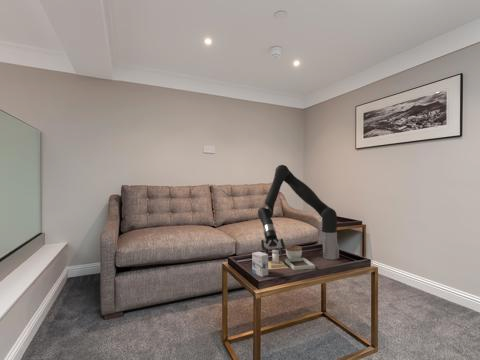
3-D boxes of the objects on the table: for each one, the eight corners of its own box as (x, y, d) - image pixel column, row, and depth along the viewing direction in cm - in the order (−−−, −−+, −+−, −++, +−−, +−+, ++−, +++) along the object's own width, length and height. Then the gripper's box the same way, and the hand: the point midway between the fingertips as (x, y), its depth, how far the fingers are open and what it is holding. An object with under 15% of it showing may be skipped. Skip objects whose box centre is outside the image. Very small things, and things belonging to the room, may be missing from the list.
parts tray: (304, 261, 159) (304, 257, 159) (315, 269, 142) (315, 265, 142) (285, 262, 157) (284, 258, 157) (294, 271, 141) (293, 266, 141)
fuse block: (282, 263, 157) (282, 259, 157) (288, 269, 145) (288, 265, 145) (264, 264, 155) (263, 260, 155) (268, 270, 143) (268, 266, 143)
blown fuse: (278, 264, 152) (277, 249, 152) (280, 266, 148) (279, 251, 148) (271, 264, 152) (271, 249, 152) (273, 266, 148) (273, 251, 148)
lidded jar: (283, 257, 169) (282, 244, 169) (297, 256, 171) (297, 242, 172) (290, 262, 158) (289, 247, 159) (305, 260, 161) (304, 245, 161)
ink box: (252, 274, 138) (251, 252, 139) (259, 272, 141) (258, 251, 142) (262, 278, 131) (261, 255, 132) (269, 276, 134) (268, 254, 135)
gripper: (259, 229, 159) (264, 252, 147) (281, 228, 161) (287, 250, 149) (258, 236, 164) (262, 258, 152) (279, 235, 166) (285, 257, 154)
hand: (275, 254), depth 151 cm, fingers open, 8 cm apart
